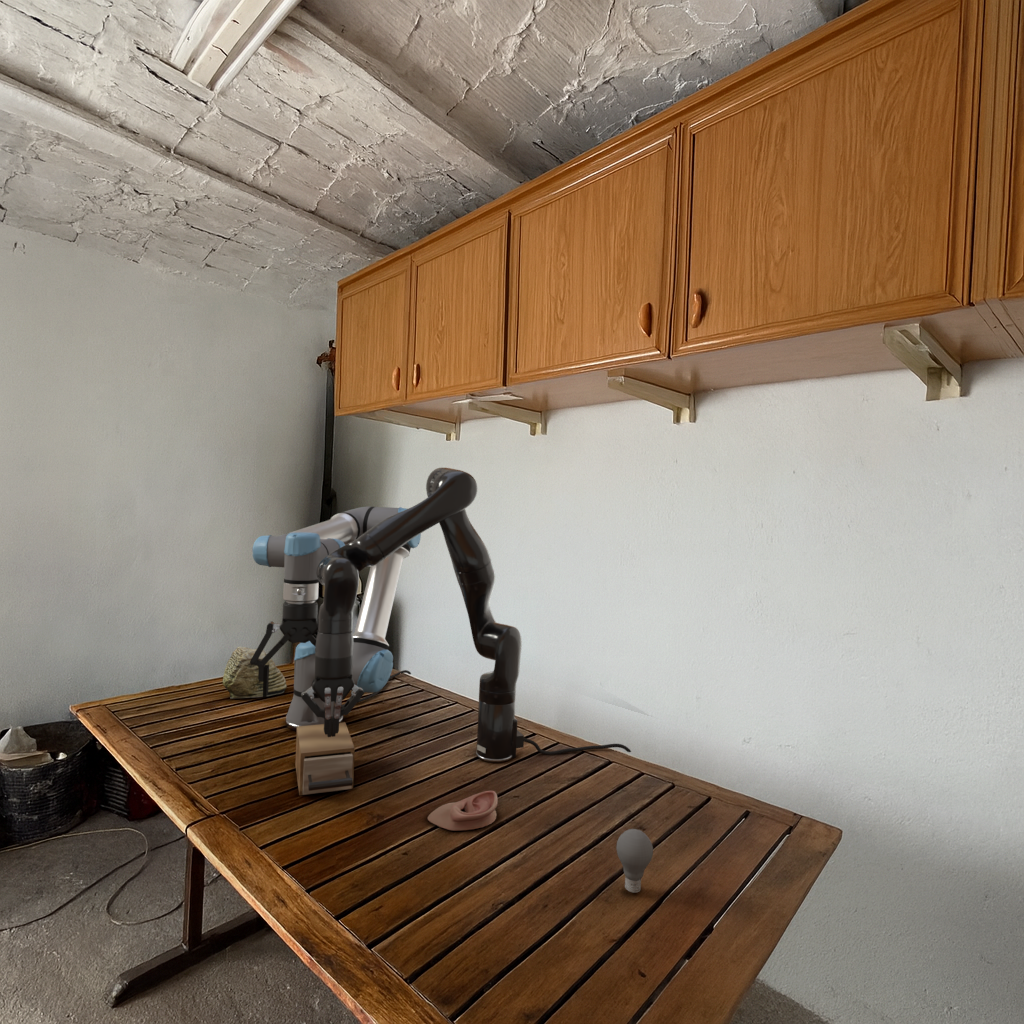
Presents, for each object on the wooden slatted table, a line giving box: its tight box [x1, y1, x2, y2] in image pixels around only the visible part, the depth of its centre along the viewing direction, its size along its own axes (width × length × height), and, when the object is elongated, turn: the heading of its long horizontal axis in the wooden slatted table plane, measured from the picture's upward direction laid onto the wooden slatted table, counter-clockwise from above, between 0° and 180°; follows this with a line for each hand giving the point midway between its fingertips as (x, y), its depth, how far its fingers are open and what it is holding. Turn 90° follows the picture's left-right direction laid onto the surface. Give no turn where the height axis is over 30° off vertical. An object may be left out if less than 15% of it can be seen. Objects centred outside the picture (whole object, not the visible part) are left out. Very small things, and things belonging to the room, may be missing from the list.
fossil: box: [222, 646, 288, 699], centre depth 198 cm, size 9×18×15 cm, turn 132°
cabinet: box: [294, 721, 356, 796], centre depth 143 cm, size 16×11×9 cm
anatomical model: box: [427, 790, 499, 832], centre depth 127 cm, size 13×4×12 cm
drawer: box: [302, 752, 354, 796], centre depth 138 cm, size 21×10×7 cm, turn 22°
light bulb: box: [615, 828, 654, 894], centre depth 106 cm, size 6×6×10 cm
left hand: (297, 694), depth 143 cm, fingers open, 13 cm apart
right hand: (331, 735), depth 131 cm, fingers closed
